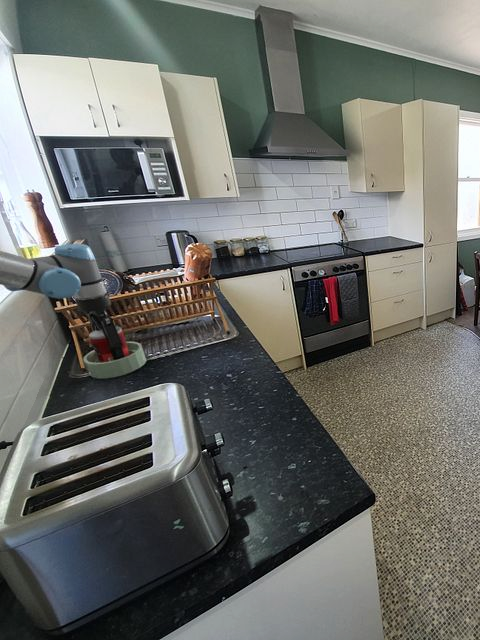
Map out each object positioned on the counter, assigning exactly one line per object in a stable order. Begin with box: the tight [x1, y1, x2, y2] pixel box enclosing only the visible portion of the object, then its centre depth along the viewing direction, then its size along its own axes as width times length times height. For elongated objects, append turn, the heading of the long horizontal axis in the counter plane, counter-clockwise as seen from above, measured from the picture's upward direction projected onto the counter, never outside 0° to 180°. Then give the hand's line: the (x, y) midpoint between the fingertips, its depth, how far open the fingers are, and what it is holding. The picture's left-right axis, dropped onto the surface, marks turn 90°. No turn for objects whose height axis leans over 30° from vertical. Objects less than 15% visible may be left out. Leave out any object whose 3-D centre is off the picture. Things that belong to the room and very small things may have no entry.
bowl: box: [82, 341, 147, 380], centre depth 114 cm, size 15×15×6 cm
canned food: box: [88, 326, 131, 363], centre depth 112 cm, size 8×8×11 cm
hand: (116, 360), depth 114 cm, fingers closed on canned food, 8 cm apart
